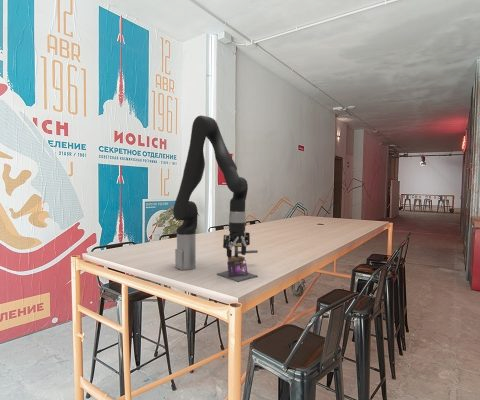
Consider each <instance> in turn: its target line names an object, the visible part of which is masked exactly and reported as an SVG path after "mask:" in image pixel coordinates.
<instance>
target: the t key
mask: <svg viewBox="0 0 480 400" xmlns="http://www.w3.org/2000/svg"><path fill="white" fill-rule="evenodd" d="M240 246H241V244H240V243H237V244H235V245H234V256H235V257H238V256H239V254H240V255H242V254H241V250H239V247H240ZM258 252H259V251H258V250H257V249H256V250H255V249H254V250H246V254H258Z"/></svg>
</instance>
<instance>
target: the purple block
mask: <svg viewBox="0 0 480 400" xmlns="http://www.w3.org/2000/svg"><path fill="white" fill-rule="evenodd" d="M234 262H237V264H239V263H240V264H242V263H243V264H244V267H242V266H241V265H238V266H235V264H234ZM247 265H248V264H247V261H246V259H245V260H243V262H242V261H233V262H228V261H227V271H228V272H229V277H236V273H240V272H241V271H244V272H245V273H246V274H245V273H244V275H248V273H249V272H248V267H247ZM235 267H236V268H235ZM243 269H244V270H243ZM247 272H248V273H247ZM244 275H237V276H244Z"/></svg>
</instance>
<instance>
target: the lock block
mask: <svg viewBox="0 0 480 400" xmlns="http://www.w3.org/2000/svg"><path fill="white" fill-rule="evenodd" d="M245 258H246V257H245V256H243V255H238V257H235V255H232V257H231V258H228V257H227V262H233V261H242V262H243V260H246V259H245ZM234 264H235V266H238V265H241V266H242V268H244V264H243V263H242V264H240V263H239V264H237V262H234ZM235 268H236V267H235Z"/></svg>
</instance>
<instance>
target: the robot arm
mask: <svg viewBox="0 0 480 400" xmlns="http://www.w3.org/2000/svg"><path fill="white" fill-rule="evenodd" d="M206 138H207V139H208V141H209V142H210V144H211V147H212V148H213V152H214V157H215V162H216V163H217V165H218V167H219V169H220V171H221V172H222V174H223V178H224V181H225V184H226V186H227V188H228V190H230V192H232V193H233V194H232V198H231V199H230V200H229V215H228V231H229V234H223V241H222V242H223V244H222V248H223V249H226V257H227V259H228V258H231V257H232V256H233V254H232V252H233V251H232V250H233V247H235V244H237V243H240V246H241V248H240V251H241V254H240V255H241V256H246V254H247V253H246V251H247V246H250V244H251V242H250V241H251V240H250V237H251V236H250V235H251V233H250V232H247V231H246V220H247V219H246V218H247V217H246V200H247V195H248V189H249V187H248V186H249V184H248V181H247V180H246V179H245V177H241V176H239V174H238V172H237V171H238V168H237V164H236V163H235V161H234V160H233V157H232V156H231V154H230V152H229V150H228V148H227V146H226V144H225V141H224V139H223V135H222V133H221V130H220V127H219V124H218V122H217V121H216V120H215V119H214V118H213V117H211V116H206V115H198V116H196V117H195V118H194V120H193V122H192V126H191V134H190V141H189V147H188V151H187V156H186V157H187V158H186V159H185V160H186V161H185V165H184V169H183V173H182V179H181V182H180V186H179V190H178V193H177V196H176V199H175V202H174V205H173V207H172V215H173V218H174V219H175V220H176V221H182V223H181V225H179V226H178V227H177V229H176V248H175V249H174V251H175V256H174V257H175V259H174V260H175V261H174V262H175V264H174V265H175V266H174V267H175V269H177V270H180V271H188V270H189V271H190V270H194V269H196V267H197V265H196V264H197V261H196V260H197V258H196V257H197V256H196V251H197V250H196V249H197V247H196V246H197V244H196V243H197V242H196V239H197V236H196V235H197V233H196V230H197V228H198V215H199V214H198V206H197V204H196V203H195V202H194V201H192V200H191V201H190V198H191V196H192V193H193V192H194V191H195V189H197V187H198V185H199V184H200V183H201V181H202V179H203V176H204V173H205V166H206V161H205V155H204V148H205V147H204V146H205V142H206Z"/></svg>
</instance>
